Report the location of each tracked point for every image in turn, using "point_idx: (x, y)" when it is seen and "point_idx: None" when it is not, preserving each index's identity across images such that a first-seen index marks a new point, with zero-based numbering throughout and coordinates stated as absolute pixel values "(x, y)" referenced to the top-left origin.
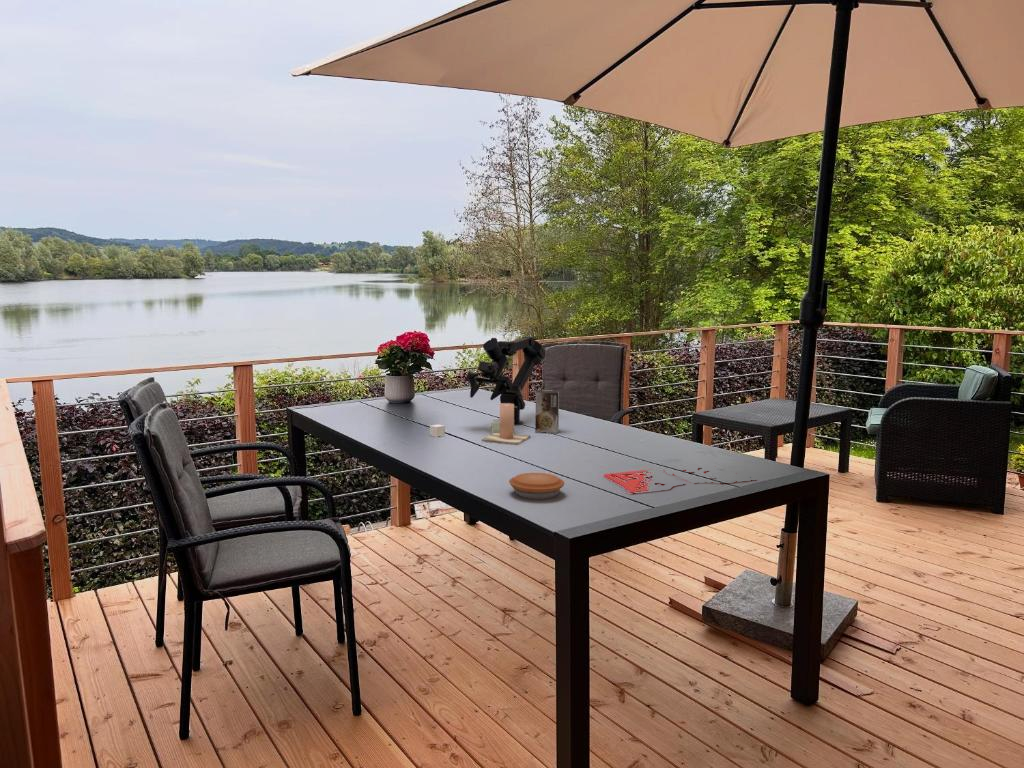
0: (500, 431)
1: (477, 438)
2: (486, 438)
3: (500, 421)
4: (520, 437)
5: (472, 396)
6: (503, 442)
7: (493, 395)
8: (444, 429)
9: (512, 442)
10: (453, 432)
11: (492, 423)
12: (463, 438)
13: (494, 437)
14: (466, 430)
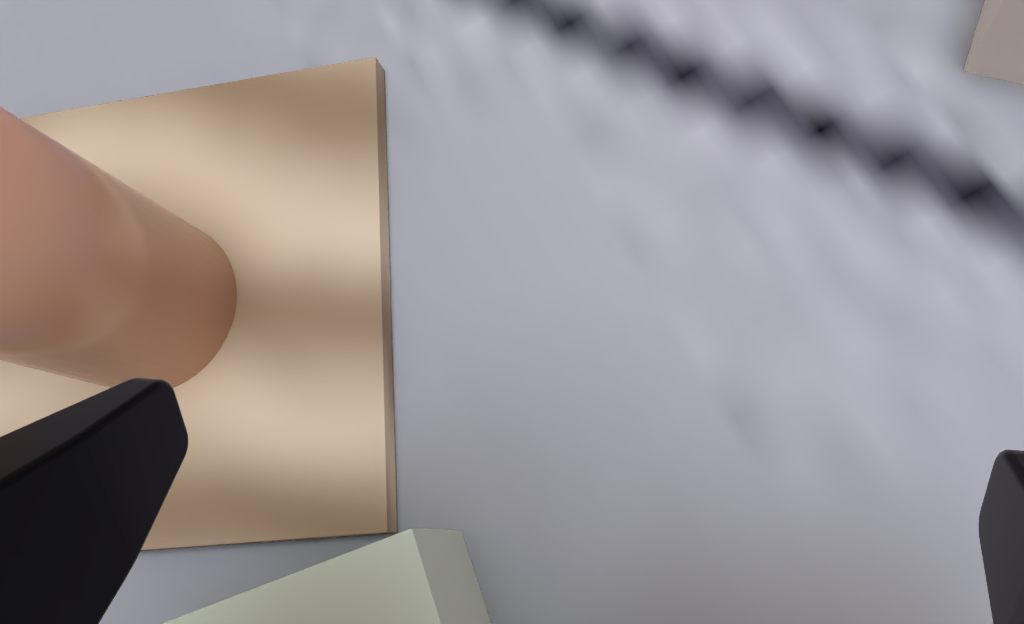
0: (163, 207)
1: (503, 180)
2: (346, 123)
3: (74, 155)
4: (6, 389)
5: (991, 563)
6: (129, 104)
7: (14, 444)
8: (997, 9)
9: (28, 117)
10: (1017, 335)
11: (404, 531)
12: (658, 86)
13: (282, 223)
14: (933, 582)
